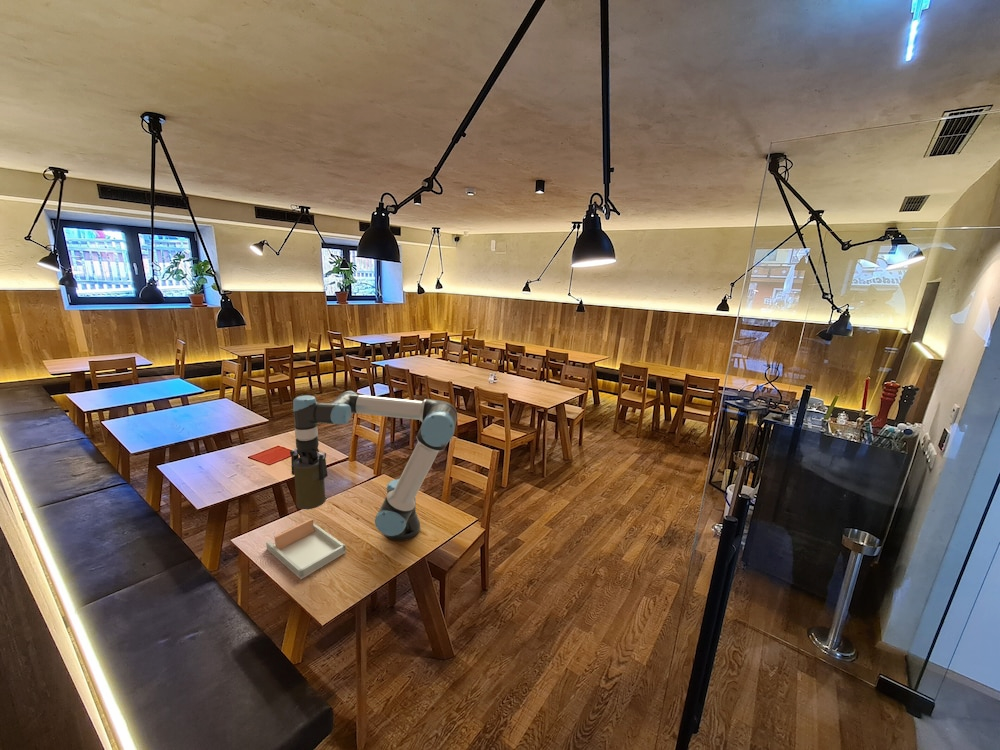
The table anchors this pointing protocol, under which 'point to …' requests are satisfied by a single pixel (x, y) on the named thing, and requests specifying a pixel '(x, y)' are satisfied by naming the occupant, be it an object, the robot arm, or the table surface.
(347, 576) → the table surface
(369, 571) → the table surface
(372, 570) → the table surface
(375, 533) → the table surface
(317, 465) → the canister
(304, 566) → the white tray
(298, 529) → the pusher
